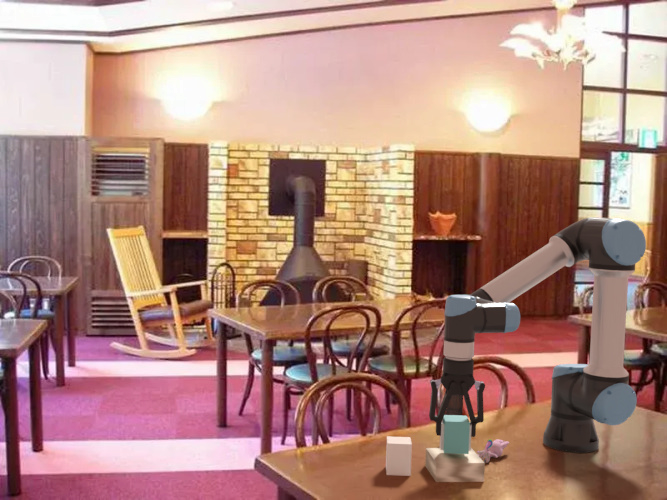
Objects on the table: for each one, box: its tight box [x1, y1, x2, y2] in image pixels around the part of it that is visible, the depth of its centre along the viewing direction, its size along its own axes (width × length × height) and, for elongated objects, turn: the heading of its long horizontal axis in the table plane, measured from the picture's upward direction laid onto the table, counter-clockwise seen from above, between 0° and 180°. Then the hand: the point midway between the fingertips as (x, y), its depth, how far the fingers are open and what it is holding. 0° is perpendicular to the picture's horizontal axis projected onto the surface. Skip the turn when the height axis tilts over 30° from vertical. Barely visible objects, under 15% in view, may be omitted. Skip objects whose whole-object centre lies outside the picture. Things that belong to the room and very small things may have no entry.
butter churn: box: [445, 394, 464, 415], centre depth 233 cm, size 9×10×28 cm
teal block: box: [442, 414, 470, 454], centre depth 209 cm, size 6×6×8 cm
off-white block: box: [385, 435, 413, 477], centre depth 209 cm, size 6×6×8 cm
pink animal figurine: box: [476, 438, 510, 464], centre depth 222 cm, size 6×6×15 cm
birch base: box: [424, 447, 486, 483], centre depth 209 cm, size 12×12×5 cm
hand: (455, 448), depth 209 cm, fingers closed on teal block, 6 cm apart
